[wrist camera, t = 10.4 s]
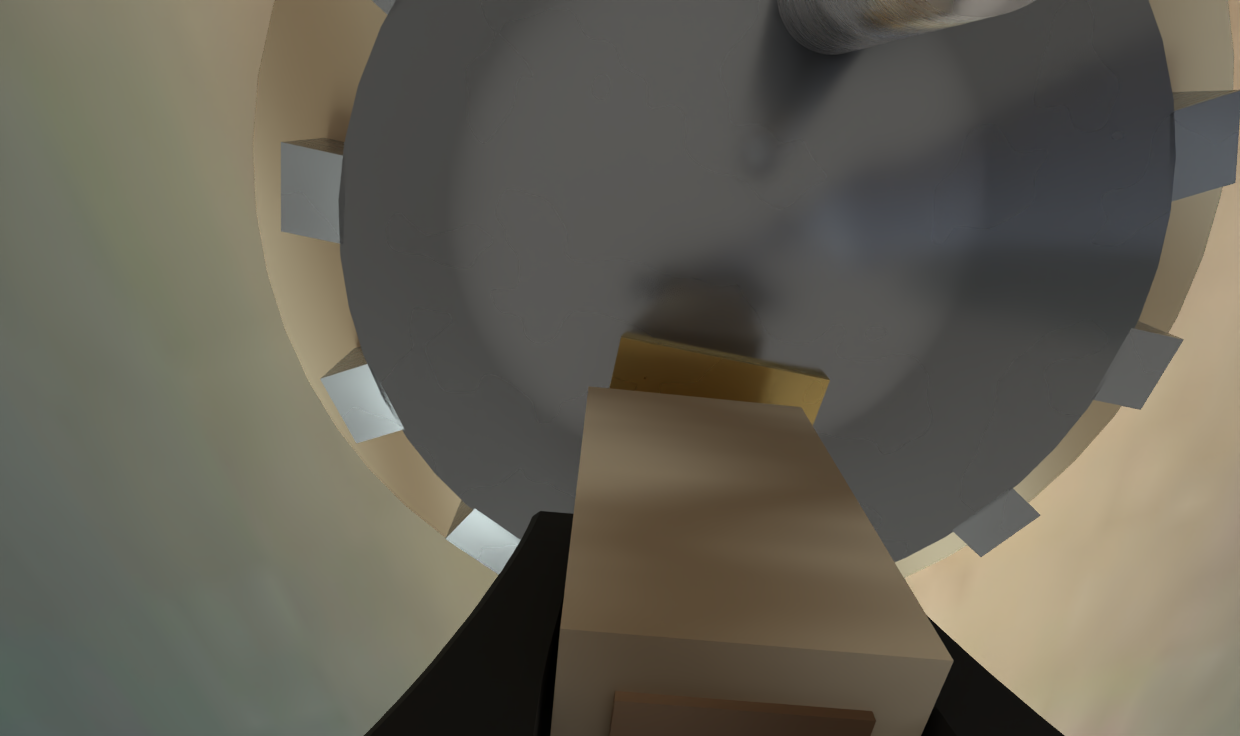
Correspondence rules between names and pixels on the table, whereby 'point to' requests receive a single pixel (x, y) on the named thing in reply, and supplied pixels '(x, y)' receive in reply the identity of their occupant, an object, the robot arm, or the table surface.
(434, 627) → the table surface
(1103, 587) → the table surface
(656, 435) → the link block
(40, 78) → the table surface
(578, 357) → the sprocket
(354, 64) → the sprocket base
